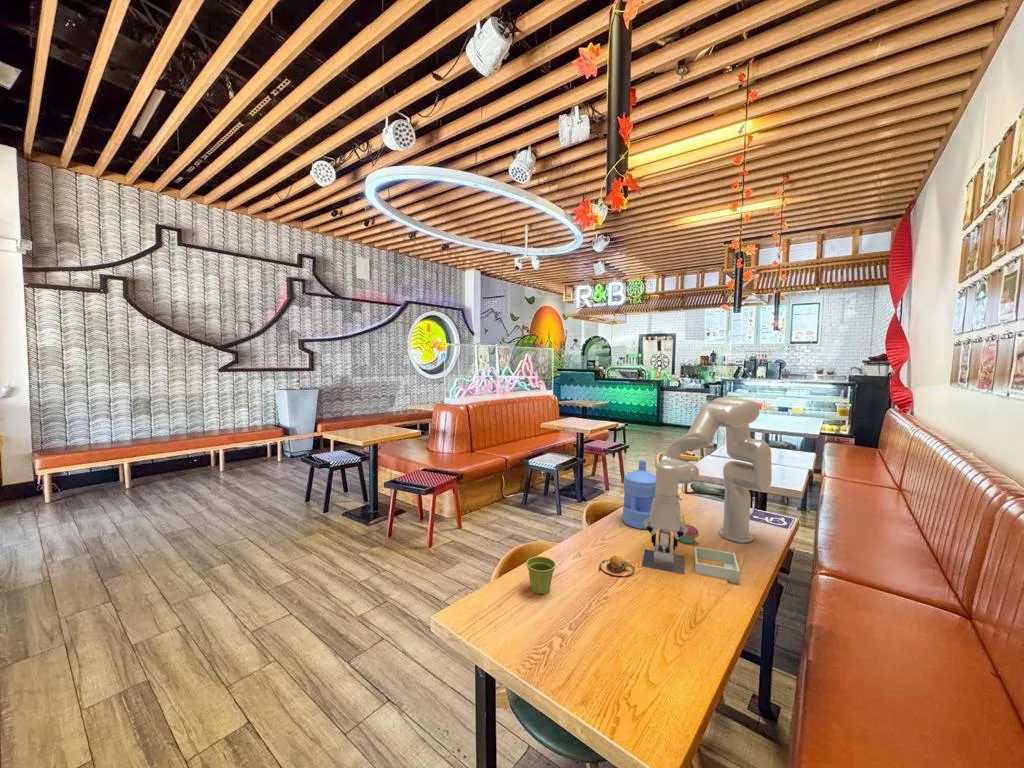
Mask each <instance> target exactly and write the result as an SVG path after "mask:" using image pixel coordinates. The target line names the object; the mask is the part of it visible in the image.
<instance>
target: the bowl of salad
mask: <svg viewBox="0 0 1024 768" xmlns="http://www.w3.org/2000/svg"><path fill="white" fill-rule="evenodd" d="M605 563H607V564H606V568H609V569H610V570H611V571H613V572H618V573H619V572H620V573H621V572H622V571H623V570H626V568H627V567H630V568H631V570H632V572H631V573H630V574H627V575H616V574H612V573H609V572H606V571H605V570H603V565H604V564H605ZM598 570H599V572H601V571H602V572H603V573H604V574H606V575H608V576H610V577H614V578H615V577H618V578H627V577H629V576H631V575H632V574H634V572H635V567H634V566H633V565H632V564H630V563H629V562H627V561H625V560H623V559H622V557H620V556H618V555H613V556H611V557H610V559H603V560H602V561H601V562H600V563H599V566H598Z"/></svg>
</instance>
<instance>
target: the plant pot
mask: <svg viewBox="0 0 1024 768" xmlns="http://www.w3.org/2000/svg"><path fill="white" fill-rule="evenodd" d="M525 562H526V563H525V564H526V567H527V570H528V576H529V585H530V590H531V592H533V593H534V594H537V595H540V594H541V595H546V594H548V593H549V592H550V590H551V585H552V579H553V574H554V571H555V569H556V566H557V564H556V562H555V561H554V560H553V559H552V558H550V557H546V556H538V555H537V556H533V557H530V558H528V559H527V560H526V561H525Z"/></svg>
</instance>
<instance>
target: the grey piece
mask: <svg viewBox="0 0 1024 768" xmlns="http://www.w3.org/2000/svg"><path fill="white" fill-rule="evenodd" d="M671 533H672V531H668V530H662V529H658V543H656V544H655V546H654V550H653V551H654V564H659V565H665V566H670V567H673V554H674V551H675V550H674V549H673V546H671V539H672V537H671V535H672V534H671Z"/></svg>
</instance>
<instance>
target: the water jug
mask: <svg viewBox="0 0 1024 768" xmlns="http://www.w3.org/2000/svg"><path fill="white" fill-rule="evenodd" d="M655 489H656V474H653V473H651V472H650V471H647V461H645V460H639V461H638V469H636V470H634V471H631V472H627V473H625V475H624V476H623V491H624V492H623V494H624V495H623V505H622V521H623V523H625V524H626V525H627V526H629V527H631V528H634V529H638V530H647V528H646V527H645V526H644V525H643V524H642V523H643V521H644V520H645V519H647V518H648V517H649V516H651V507H652V501H653V499H654V498H655ZM648 525H650V522H649V523H648ZM650 526H651V525H650ZM651 528H653V527H651Z"/></svg>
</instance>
